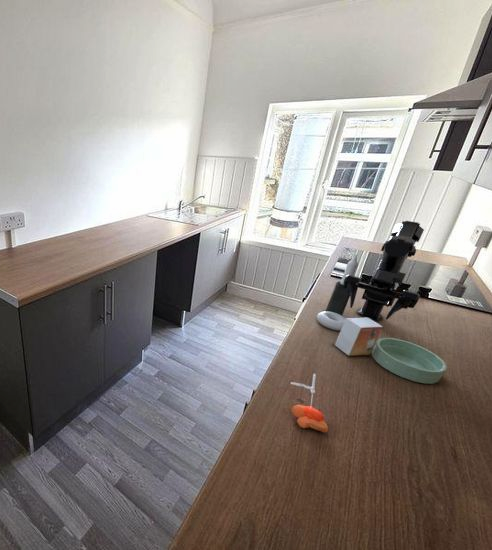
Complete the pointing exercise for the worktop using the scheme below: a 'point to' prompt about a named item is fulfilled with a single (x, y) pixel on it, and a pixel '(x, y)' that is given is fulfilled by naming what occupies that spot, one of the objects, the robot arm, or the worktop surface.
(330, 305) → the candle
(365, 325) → the small box
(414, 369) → the bowl
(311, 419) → the orange lobed stemmed ornament
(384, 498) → the worktop surface
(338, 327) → the donut
